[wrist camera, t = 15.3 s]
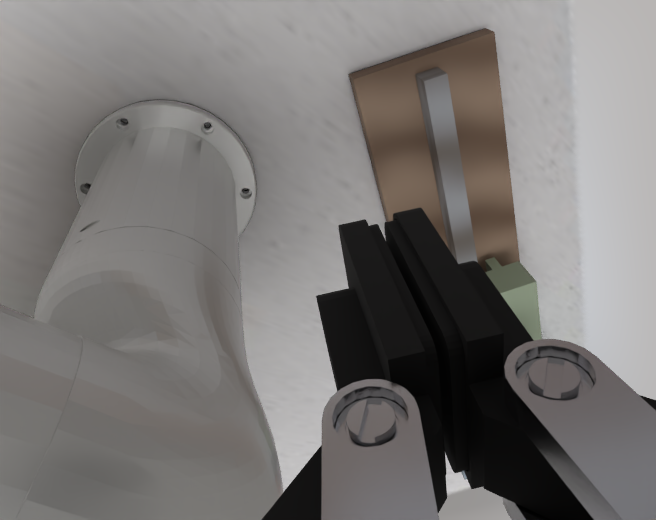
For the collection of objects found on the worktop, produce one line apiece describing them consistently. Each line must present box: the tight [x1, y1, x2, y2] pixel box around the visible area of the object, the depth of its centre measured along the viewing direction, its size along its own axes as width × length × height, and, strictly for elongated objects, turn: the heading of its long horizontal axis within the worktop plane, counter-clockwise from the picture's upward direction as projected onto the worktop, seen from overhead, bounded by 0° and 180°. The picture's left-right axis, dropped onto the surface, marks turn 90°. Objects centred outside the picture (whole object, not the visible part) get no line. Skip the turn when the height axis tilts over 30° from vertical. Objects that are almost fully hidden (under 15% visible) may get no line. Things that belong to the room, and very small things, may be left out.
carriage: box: [485, 257, 542, 341], centre depth 43 cm, size 8×8×13 cm
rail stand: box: [349, 28, 520, 479], centre depth 46 cm, size 37×10×8 cm, turn 16°
